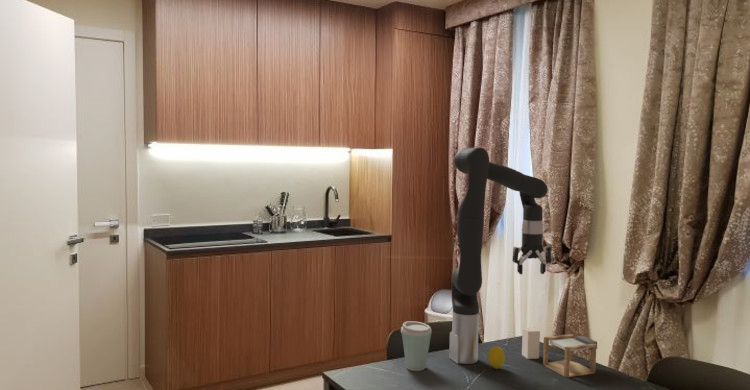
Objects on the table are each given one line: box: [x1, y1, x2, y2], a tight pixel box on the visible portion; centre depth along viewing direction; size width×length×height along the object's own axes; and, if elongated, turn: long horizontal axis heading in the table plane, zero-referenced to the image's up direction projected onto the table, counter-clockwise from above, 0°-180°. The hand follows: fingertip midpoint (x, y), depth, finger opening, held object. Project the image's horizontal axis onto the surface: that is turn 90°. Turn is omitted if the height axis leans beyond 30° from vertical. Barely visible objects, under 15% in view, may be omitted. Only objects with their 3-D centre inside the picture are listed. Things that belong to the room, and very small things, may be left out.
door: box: [549, 335, 598, 352], centre depth 184 cm, size 13×9×2 cm
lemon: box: [487, 345, 506, 370], centre depth 182 cm, size 6×6×8 cm
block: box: [521, 327, 541, 360], centre depth 195 cm, size 4×4×10 cm
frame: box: [542, 333, 597, 378], centre depth 183 cm, size 12×12×10 cm
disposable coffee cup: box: [400, 320, 433, 372], centre depth 181 cm, size 11×11×15 cm
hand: (531, 273), depth 205 cm, fingers open, 8 cm apart
